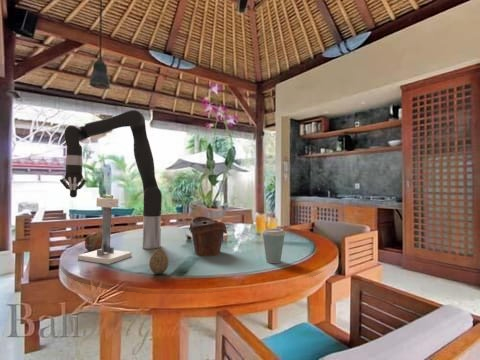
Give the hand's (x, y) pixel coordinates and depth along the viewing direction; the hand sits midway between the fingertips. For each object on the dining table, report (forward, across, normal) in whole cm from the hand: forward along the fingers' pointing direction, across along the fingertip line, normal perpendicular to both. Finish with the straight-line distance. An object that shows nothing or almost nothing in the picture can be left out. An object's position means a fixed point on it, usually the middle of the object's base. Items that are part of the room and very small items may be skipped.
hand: (73, 197), depth 147 cm
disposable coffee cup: (+27, +99, -34) cm, 108 cm away
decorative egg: (+27, +49, -46) cm, 73 cm away
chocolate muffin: (+27, +70, -15) cm, 77 cm away
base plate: (+27, +22, -20) cm, 40 cm away
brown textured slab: (+27, +11, 0) cm, 29 cm away
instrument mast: (+25, +22, -20) cm, 39 cm away
